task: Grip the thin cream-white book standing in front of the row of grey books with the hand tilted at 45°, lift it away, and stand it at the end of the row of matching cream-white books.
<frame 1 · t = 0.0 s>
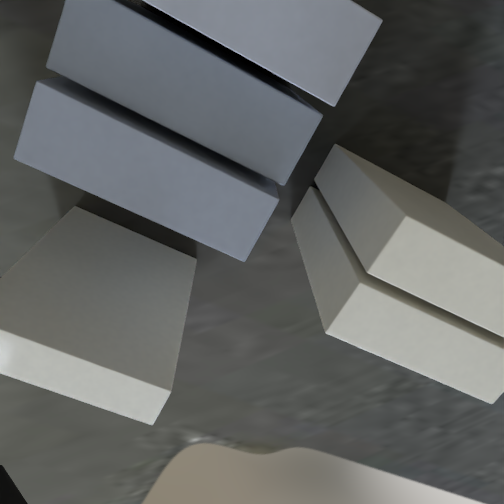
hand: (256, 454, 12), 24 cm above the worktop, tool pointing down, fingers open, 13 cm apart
thin white book: (132, 246, 35), on the worktop
grey books: (207, 74, 30), on the worktop
white books: (367, 211, 34), on the worktop
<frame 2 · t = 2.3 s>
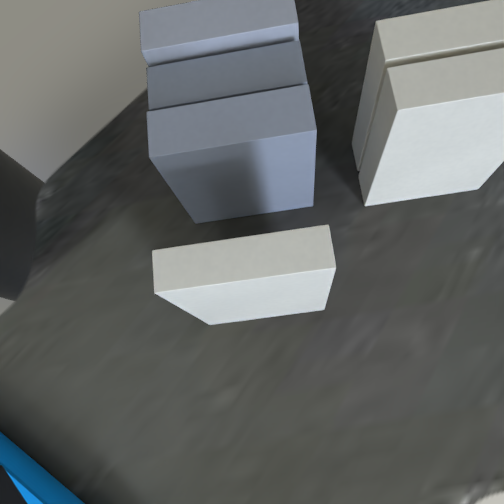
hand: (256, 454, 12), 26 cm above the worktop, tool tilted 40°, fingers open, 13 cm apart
thin white book: (264, 303, 39), on the worktop
grey books: (246, 159, 43), on the worktop
white books: (412, 165, 41), on the worktop
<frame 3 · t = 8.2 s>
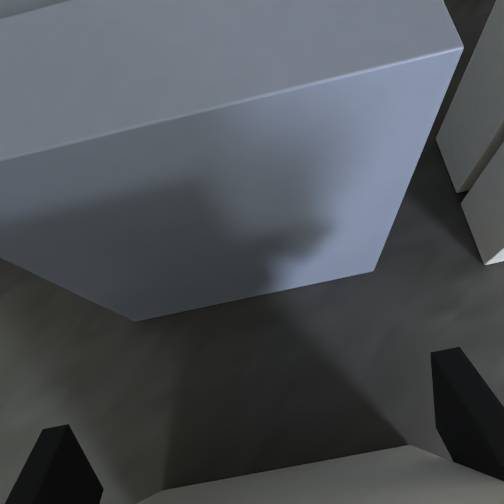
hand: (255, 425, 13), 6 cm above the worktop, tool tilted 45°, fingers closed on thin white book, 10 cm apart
thin white book: (289, 503, 17), on the worktop, touching gripper
grey books: (231, 185, 22), on the worktop
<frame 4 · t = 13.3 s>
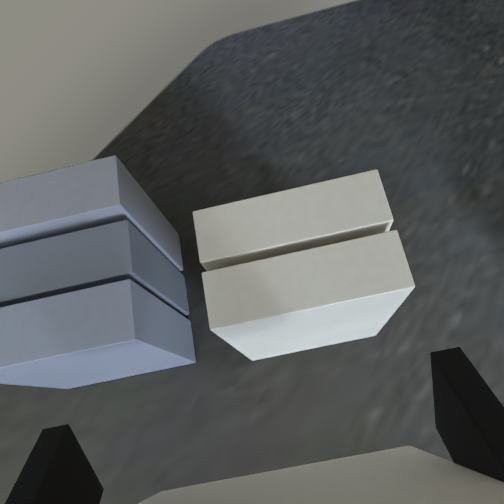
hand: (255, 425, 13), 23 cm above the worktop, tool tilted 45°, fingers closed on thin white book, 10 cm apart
grey books: (125, 308, 39), on the worktop
white books: (304, 308, 36), on the worktop
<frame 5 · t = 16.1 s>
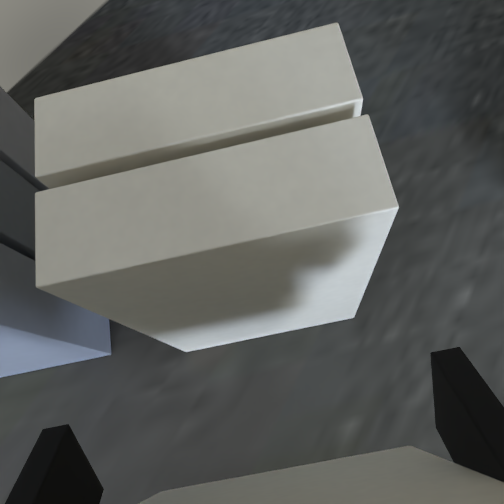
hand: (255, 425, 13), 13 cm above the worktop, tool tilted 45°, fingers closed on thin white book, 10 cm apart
grey books: (25, 283, 29), on the worktop
white books: (258, 282, 27), on the worktop
when the fingers open (6 cm above the worktop, at t = 18.5 s): thin white book stays where it is, on the worktop.
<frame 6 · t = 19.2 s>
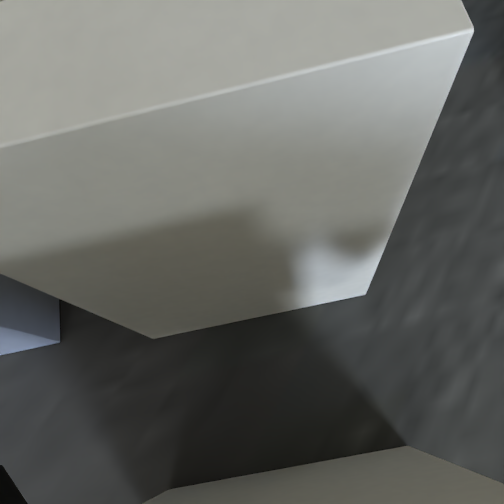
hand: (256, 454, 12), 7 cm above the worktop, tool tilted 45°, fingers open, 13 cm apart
thin white book: (292, 502, 18), on the worktop
white books: (245, 252, 22), on the worktop
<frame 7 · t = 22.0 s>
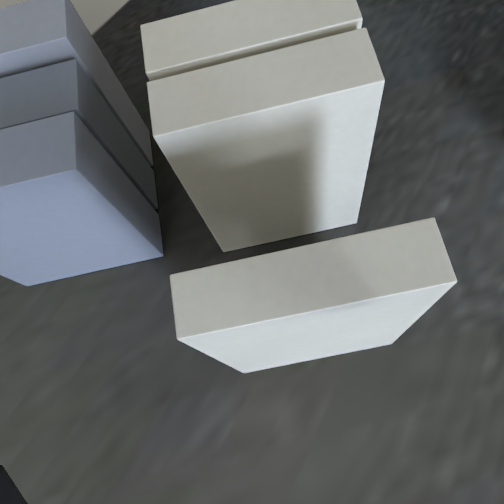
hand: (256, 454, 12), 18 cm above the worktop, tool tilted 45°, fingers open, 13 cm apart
thin white book: (312, 340, 30), on the worktop
grey books: (91, 205, 36), on the worktop
white books: (280, 199, 34), on the worktop
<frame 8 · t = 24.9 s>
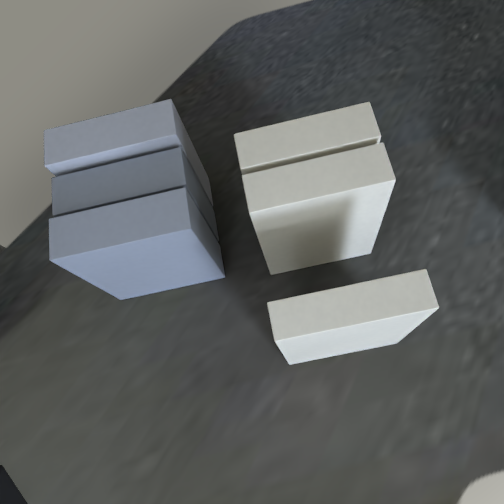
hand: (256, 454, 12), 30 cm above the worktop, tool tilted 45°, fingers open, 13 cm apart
thin white book: (339, 340, 41), on the worktop
grey books: (166, 237, 47), on the worktop
white books: (313, 234, 45), on the worktop
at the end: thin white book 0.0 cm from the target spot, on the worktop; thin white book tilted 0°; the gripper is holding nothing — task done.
